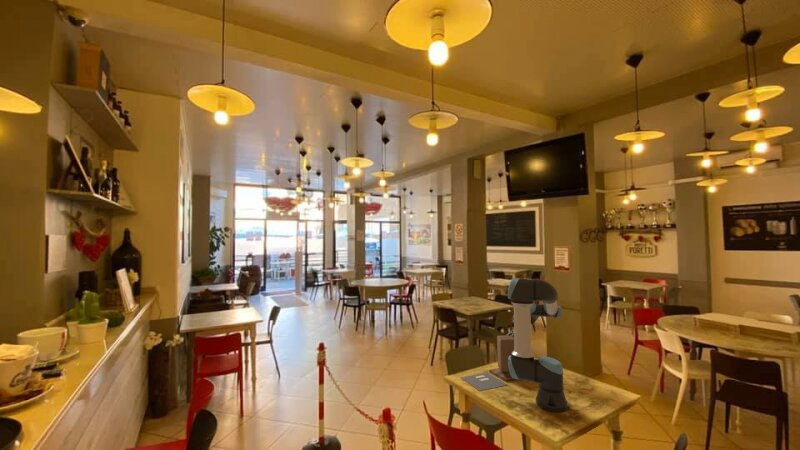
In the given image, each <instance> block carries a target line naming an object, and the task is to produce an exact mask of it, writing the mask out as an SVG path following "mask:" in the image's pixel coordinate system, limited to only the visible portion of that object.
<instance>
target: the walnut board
mask: <svg viewBox="0 0 800 450" xmlns="http://www.w3.org/2000/svg"><path fill="white" fill-rule="evenodd" d="M489 374H490V375H492V376H494V377H496V378H497V379H499V380H501V381H502V382H504V383H507V382H513V381H517V380H518V379H514V378H512V377H511V375H510V372H502V371H501V370H500V368H499V367H498V368H493V369H489ZM518 381H519V380H518Z"/></svg>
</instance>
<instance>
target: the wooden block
mask: <svg viewBox="0 0 800 450" xmlns="http://www.w3.org/2000/svg"><path fill="white" fill-rule="evenodd" d="M496 342H497V344H496V346H497V347H496V349H497V366H498V368H500V370H501V371H502V372H510V371H509V364H508V362H509V361H508V359H509V356H510V355H512V352H513V351H514V337H513V336H506V335H497V336H496Z"/></svg>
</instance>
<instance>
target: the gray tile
mask: <svg viewBox="0 0 800 450" xmlns="http://www.w3.org/2000/svg"><path fill="white" fill-rule="evenodd" d="M460 379H462V380H463V381H465V382H466V383H467V384H468V385H470V386H471V387H473V388H474V389H476V390H477V391H478V392H480V391H481V392H482V391H487V390H491V389H495V388H500V387H501V388H502V387H506V386H508V384H507V383H506V382H505V381H503V380H501V379H500V378H498V377H496V376H495V375H493V374H491V373H490V372H489V373H488V372H483V373H477V374H472V375H471V374H470V375H467V376H461V377H460Z"/></svg>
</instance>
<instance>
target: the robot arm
mask: <svg viewBox="0 0 800 450" xmlns="http://www.w3.org/2000/svg"><path fill="white" fill-rule="evenodd" d="M507 290H508V291H507V298H508V299H509V300H510V303H511V305H513V326H514V327H513V330H512V329H511V330H510V331H509V332H508V333H507V334H505V336H513V337H514V351H513V352H512V355H510V356H509V359H508V361H509V362H508V364H509V371H510V375H511V377H512V378H514V379H518V381H525V382H531V383H536V384H538V390H537V394H536V397H535V404H536V406H537V407H539V408H540V409H542V410H545V411H548V412H553V413H562V412H566V411H567V410H568V407H569V406H568V401H567V398H566V395H565V392H564V370H563V369H564V367H563V365H562V362H560V361H559V360H557V359H556V358H553V357H549V356H547V355H546V356H545V355H544V356H539V357H538V358H535V354H534V353H533V352H532V333H531V332H532V331H531V329H532V328H533V326H534V325H535V323H536V322H537V321H538V319H539V318H540V317H542V318H543V317H545V318H554V319H556V318H557V319H561V318H562V317H563V316H562V313H563V311H562V306H561V305H558V298H559V292H558V290H557V289H556V287H555V286H554V285H552V284H551V283H550V282H548V281H546V280H544V279H540V278H538V279H537V278H536V279H535V278H520V277H517V278H515V277H514V278H511V279H510V281H509V285H508V288H507ZM535 302H542V304H541V303H535Z"/></svg>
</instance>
